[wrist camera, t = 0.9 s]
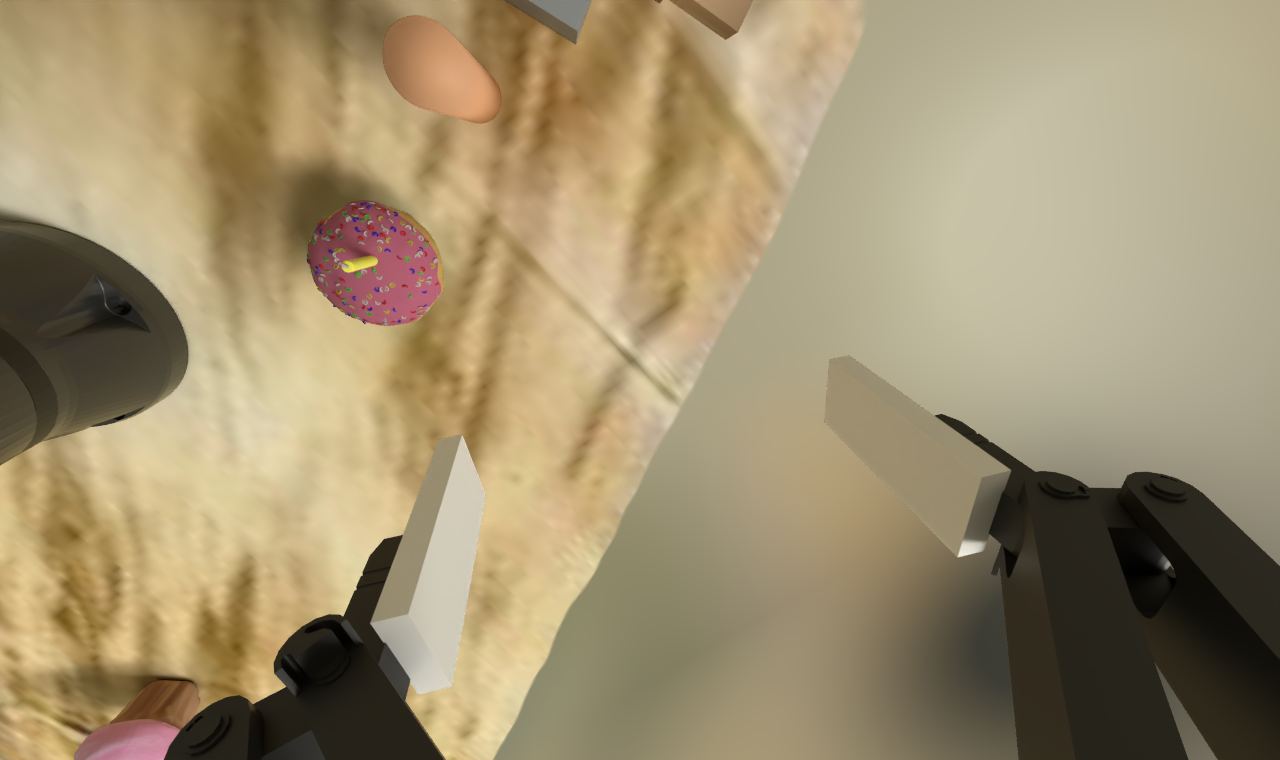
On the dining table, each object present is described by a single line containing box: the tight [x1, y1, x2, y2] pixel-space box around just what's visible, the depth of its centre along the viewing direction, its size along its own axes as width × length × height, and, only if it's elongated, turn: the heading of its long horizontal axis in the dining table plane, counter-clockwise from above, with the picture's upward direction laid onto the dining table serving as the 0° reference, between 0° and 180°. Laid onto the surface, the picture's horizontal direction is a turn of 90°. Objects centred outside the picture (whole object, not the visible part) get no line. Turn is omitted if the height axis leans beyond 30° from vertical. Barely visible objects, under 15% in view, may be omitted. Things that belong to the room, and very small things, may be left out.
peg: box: [382, 16, 501, 123], centre depth 26 cm, size 3×3×14 cm
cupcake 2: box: [307, 201, 444, 326], centre depth 31 cm, size 9×8×12 cm
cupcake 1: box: [74, 680, 200, 760], centre depth 49 cm, size 9×9×10 cm
